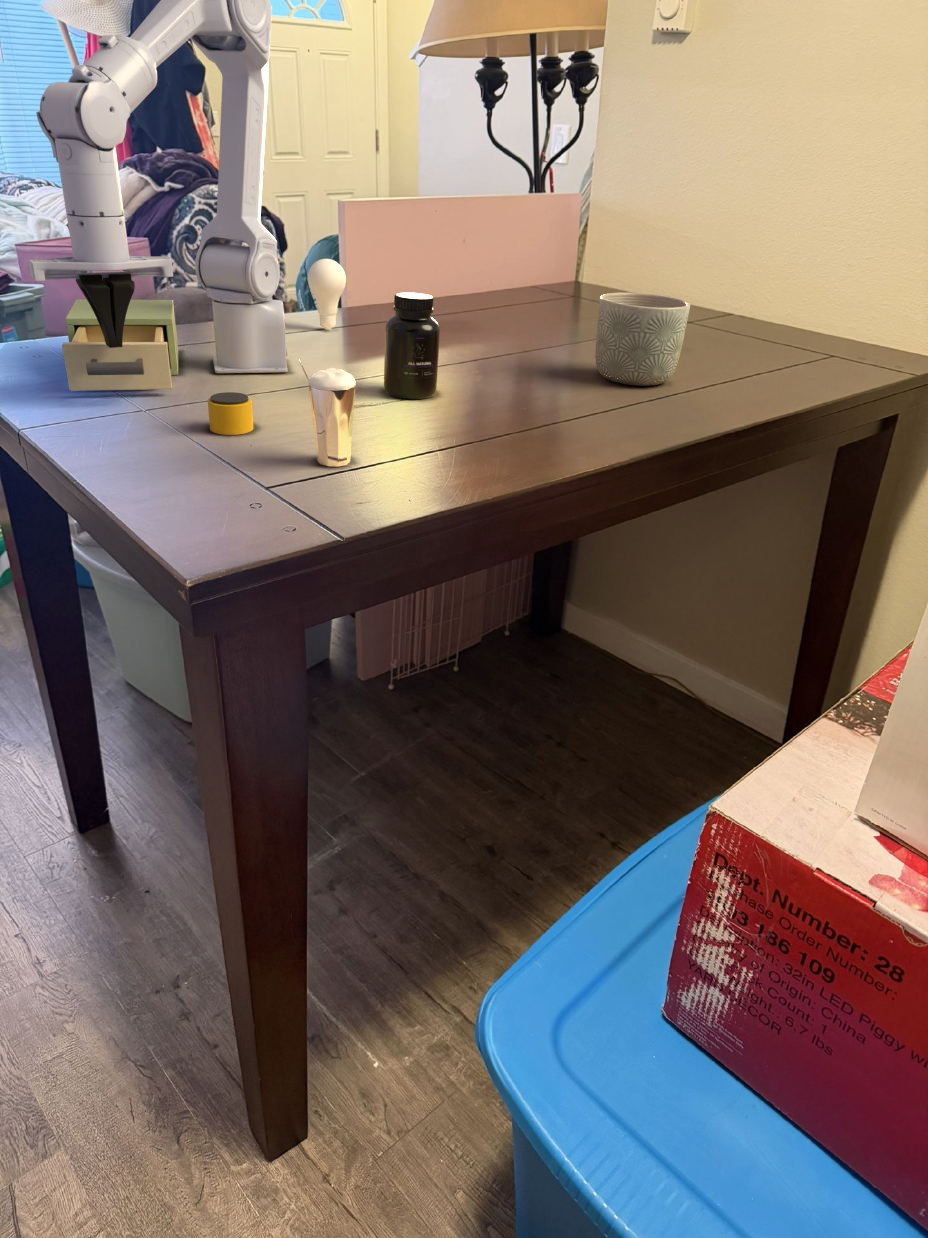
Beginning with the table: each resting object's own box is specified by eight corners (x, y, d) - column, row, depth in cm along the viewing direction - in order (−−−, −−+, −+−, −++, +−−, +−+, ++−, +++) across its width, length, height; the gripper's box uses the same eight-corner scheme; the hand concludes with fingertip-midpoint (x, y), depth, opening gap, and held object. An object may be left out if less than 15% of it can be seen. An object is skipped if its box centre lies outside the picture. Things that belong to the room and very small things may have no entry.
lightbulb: (339, 335, 141) (338, 262, 136) (304, 331, 142) (301, 259, 137) (351, 328, 146) (350, 258, 141) (316, 324, 147) (314, 254, 142)
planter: (573, 376, 125) (582, 296, 119) (621, 365, 133) (631, 289, 128) (646, 395, 118) (660, 311, 112) (692, 382, 126) (707, 302, 121)
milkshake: (304, 453, 89) (300, 354, 85) (356, 454, 90) (356, 356, 85) (301, 468, 85) (297, 365, 81) (355, 469, 86) (355, 367, 81)
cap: (252, 421, 98) (249, 390, 96) (254, 434, 94) (252, 402, 92) (209, 423, 97) (206, 391, 95) (210, 435, 93) (207, 403, 91)
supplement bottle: (417, 403, 108) (420, 302, 102) (373, 393, 111) (373, 294, 105) (447, 392, 113) (451, 295, 107) (404, 383, 116) (406, 288, 110)
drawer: (171, 398, 101) (166, 351, 99) (65, 400, 98) (57, 352, 96) (172, 364, 115) (168, 322, 112) (79, 365, 112) (73, 322, 109)
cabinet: (178, 374, 114) (172, 318, 111) (74, 376, 111) (65, 318, 107) (178, 351, 125) (172, 299, 122) (84, 352, 122) (76, 298, 119)
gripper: (154, 210, 99) (167, 334, 105) (14, 210, 92) (38, 342, 98) (172, 217, 94) (186, 346, 100) (26, 217, 86) (51, 356, 93)
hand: (114, 345), depth 99 cm, fingers closed
